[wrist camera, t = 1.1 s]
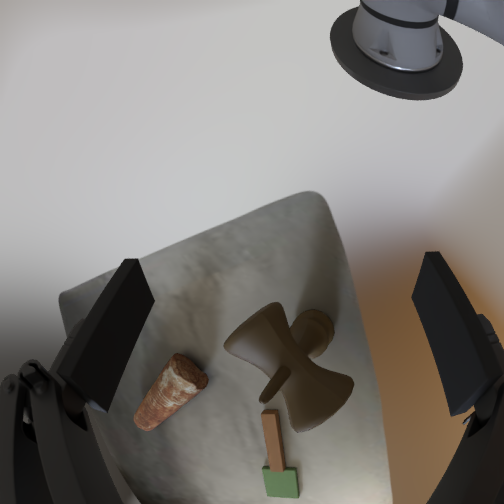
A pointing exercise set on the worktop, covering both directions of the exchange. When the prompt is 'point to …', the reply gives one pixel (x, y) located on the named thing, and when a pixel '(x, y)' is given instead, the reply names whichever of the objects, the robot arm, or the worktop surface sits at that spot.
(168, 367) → the reddish brown tapered cylinder
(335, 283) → the worktop surface
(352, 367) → the worktop surface
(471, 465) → the robot arm
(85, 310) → the worktop surface
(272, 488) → the spatula
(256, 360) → the kendama
